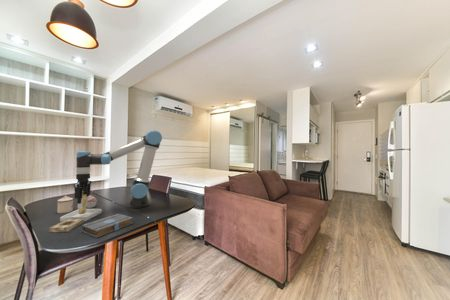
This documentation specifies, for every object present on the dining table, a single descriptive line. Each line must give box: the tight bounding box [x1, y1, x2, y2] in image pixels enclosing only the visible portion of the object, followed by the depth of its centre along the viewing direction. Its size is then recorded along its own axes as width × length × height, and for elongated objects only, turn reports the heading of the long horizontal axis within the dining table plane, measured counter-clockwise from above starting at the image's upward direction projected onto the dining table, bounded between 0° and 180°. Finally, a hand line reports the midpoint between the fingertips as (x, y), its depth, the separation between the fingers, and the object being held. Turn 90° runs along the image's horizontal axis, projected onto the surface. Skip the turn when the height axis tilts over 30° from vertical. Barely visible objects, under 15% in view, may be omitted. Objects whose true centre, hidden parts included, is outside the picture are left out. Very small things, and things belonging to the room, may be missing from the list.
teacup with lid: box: [56, 195, 74, 214], centre depth 131 cm, size 12×9×12 cm
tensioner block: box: [48, 219, 84, 233], centre depth 103 cm, size 10×12×2 cm
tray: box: [59, 208, 103, 223], centre depth 120 cm, size 16×16×3 cm
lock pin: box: [78, 193, 87, 214], centre depth 120 cm, size 4×4×13 cm
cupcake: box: [86, 194, 98, 209], centre depth 140 cm, size 9×9×10 cm
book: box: [80, 213, 134, 239], centre depth 105 cm, size 21×16×5 cm
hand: (82, 206), depth 120 cm, fingers closed on lock pin, 4 cm apart
